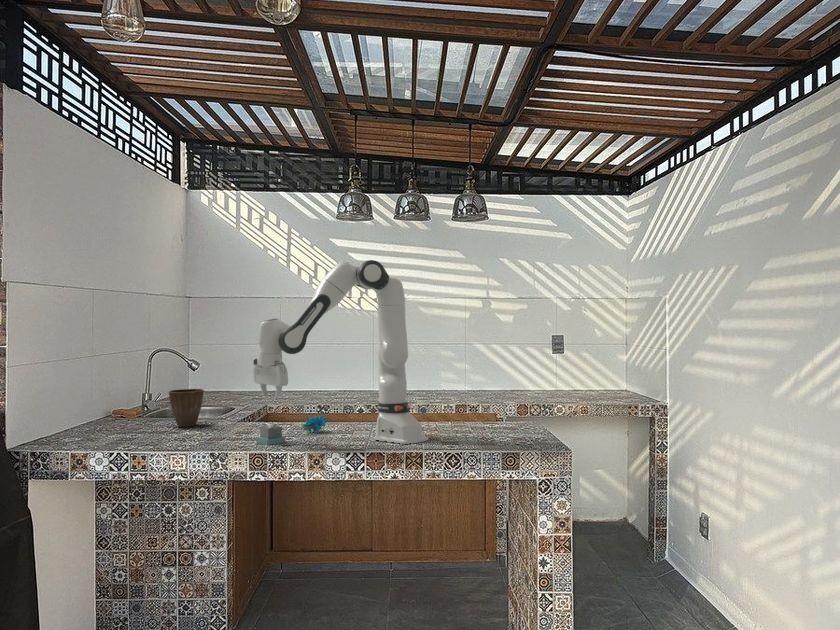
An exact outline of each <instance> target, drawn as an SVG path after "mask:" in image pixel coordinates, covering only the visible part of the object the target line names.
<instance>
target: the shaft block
mask: <svg viewBox="0 0 840 630" xmlns="http://www.w3.org/2000/svg"><path fill="white" fill-rule="evenodd" d="M273 425H274V423H268V424H267V426H268V427H269V428H271V427H273ZM255 441H256V443H257V442H258V444H262V445H265V446H270V445H275V444H276V445H277V444H282V443H283V442H284V443H286V436H283V435H282V437H279V438H272V439H266V438H262V437H260V436H256V439H255ZM284 443H283V444H284Z"/></svg>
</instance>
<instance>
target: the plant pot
mask: <svg viewBox="0 0 840 630" xmlns="http://www.w3.org/2000/svg"><path fill="white" fill-rule="evenodd" d="M204 392H205V390H204V389H203V388H184V389H183V388H182V389H181V388H180V389H173V390H169V391H168V395H169V402H170V405H171V409H172V410H171V411H172V414H173V416H174V419H175V422H176V424H177V427H178V426H179V427H178V428H189V427H188V426H192V427H195V426H196V424H197V423H198V419H199V418H200V417H199V416H200V413H201V410H202V406H203V405H202V404H203V398H204ZM194 425H195V426H194Z"/></svg>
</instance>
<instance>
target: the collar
mask: <svg viewBox="0 0 840 630" xmlns="http://www.w3.org/2000/svg"><path fill="white" fill-rule="evenodd" d="M259 429H260V430H259V431H260V432H259V433H260V434H259V437H262V438H266V439H272V438H279V437H282V436H283V426H281V425H277V424H276V425H275V424H273V427H271V428H269V427H268V425H263V426H260V427H259Z"/></svg>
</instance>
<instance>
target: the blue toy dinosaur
mask: <svg viewBox="0 0 840 630" xmlns="http://www.w3.org/2000/svg"><path fill="white" fill-rule="evenodd" d="M327 423H328V419H327V416H324V415H322V414H321V415H319V416H318V415H315V416H314V417H311V416H310V417H309V420H305V423H301V428H302V429H303V430H304V431H305V432H306V435H308V433H309V432H311V431H313V432H316V433H317V434H320V433H321V432H320V430H321V429H322V427H325V426H326V424H327Z"/></svg>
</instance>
